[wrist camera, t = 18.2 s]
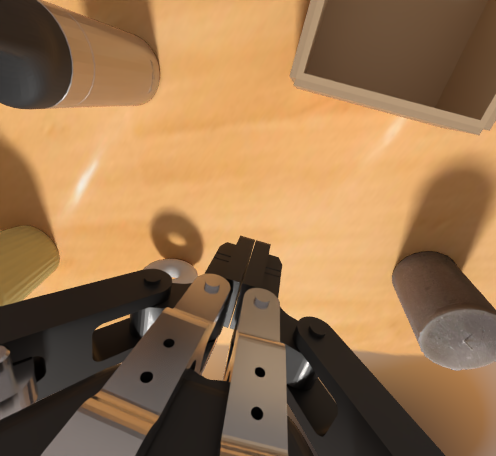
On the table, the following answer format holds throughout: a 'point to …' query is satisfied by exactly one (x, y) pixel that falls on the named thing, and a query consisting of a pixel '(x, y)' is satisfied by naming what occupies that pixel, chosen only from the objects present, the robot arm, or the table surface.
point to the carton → (404, 58)
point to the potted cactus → (24, 262)
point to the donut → (176, 270)
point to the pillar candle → (446, 311)
